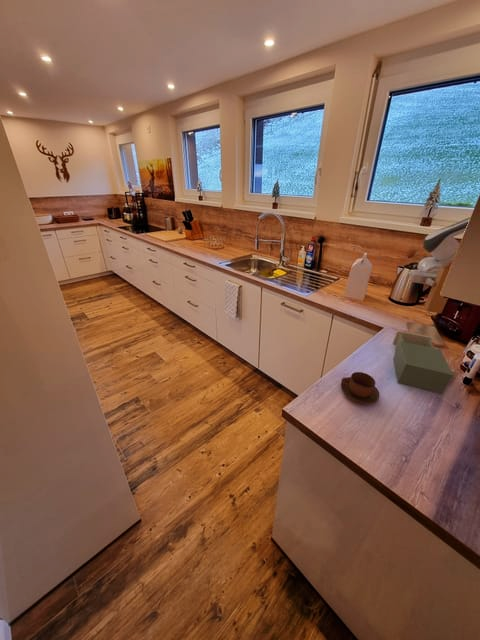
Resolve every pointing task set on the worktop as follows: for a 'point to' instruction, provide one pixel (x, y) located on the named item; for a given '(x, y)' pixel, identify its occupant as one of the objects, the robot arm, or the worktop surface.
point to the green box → (421, 367)
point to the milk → (358, 279)
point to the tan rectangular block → (438, 291)
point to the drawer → (412, 339)
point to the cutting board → (426, 332)
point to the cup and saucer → (360, 388)
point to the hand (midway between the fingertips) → (443, 285)
